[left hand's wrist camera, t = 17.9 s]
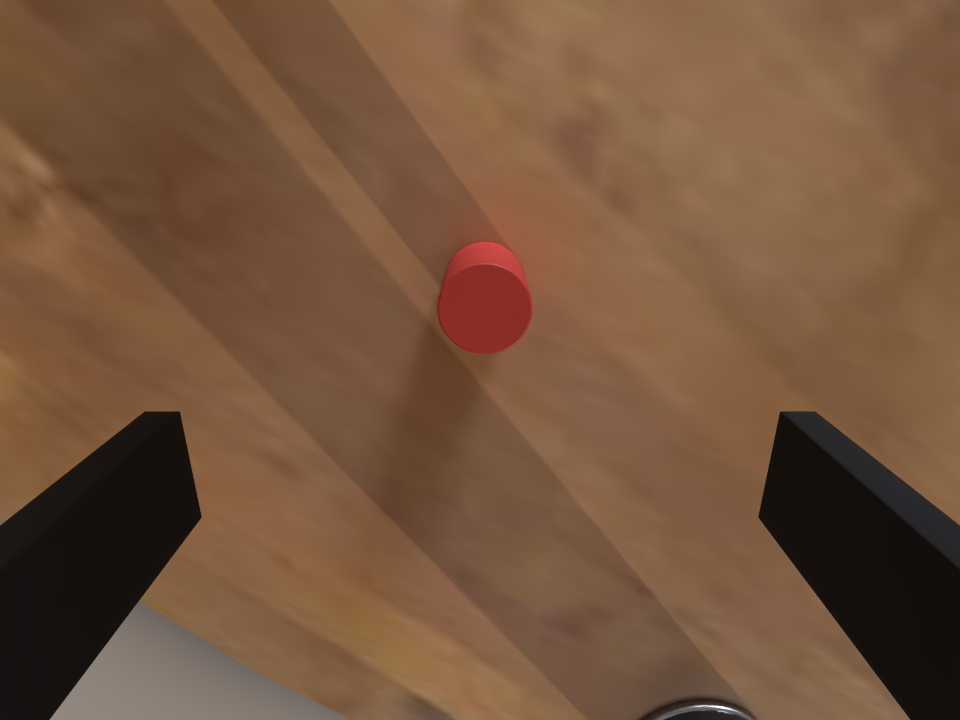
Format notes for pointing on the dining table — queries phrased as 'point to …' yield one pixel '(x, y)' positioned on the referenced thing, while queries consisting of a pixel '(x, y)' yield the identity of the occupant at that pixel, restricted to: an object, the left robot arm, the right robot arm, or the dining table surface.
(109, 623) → the left robot arm
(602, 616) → the dining table surface
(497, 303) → the canister
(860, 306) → the dining table surface
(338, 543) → the dining table surface
